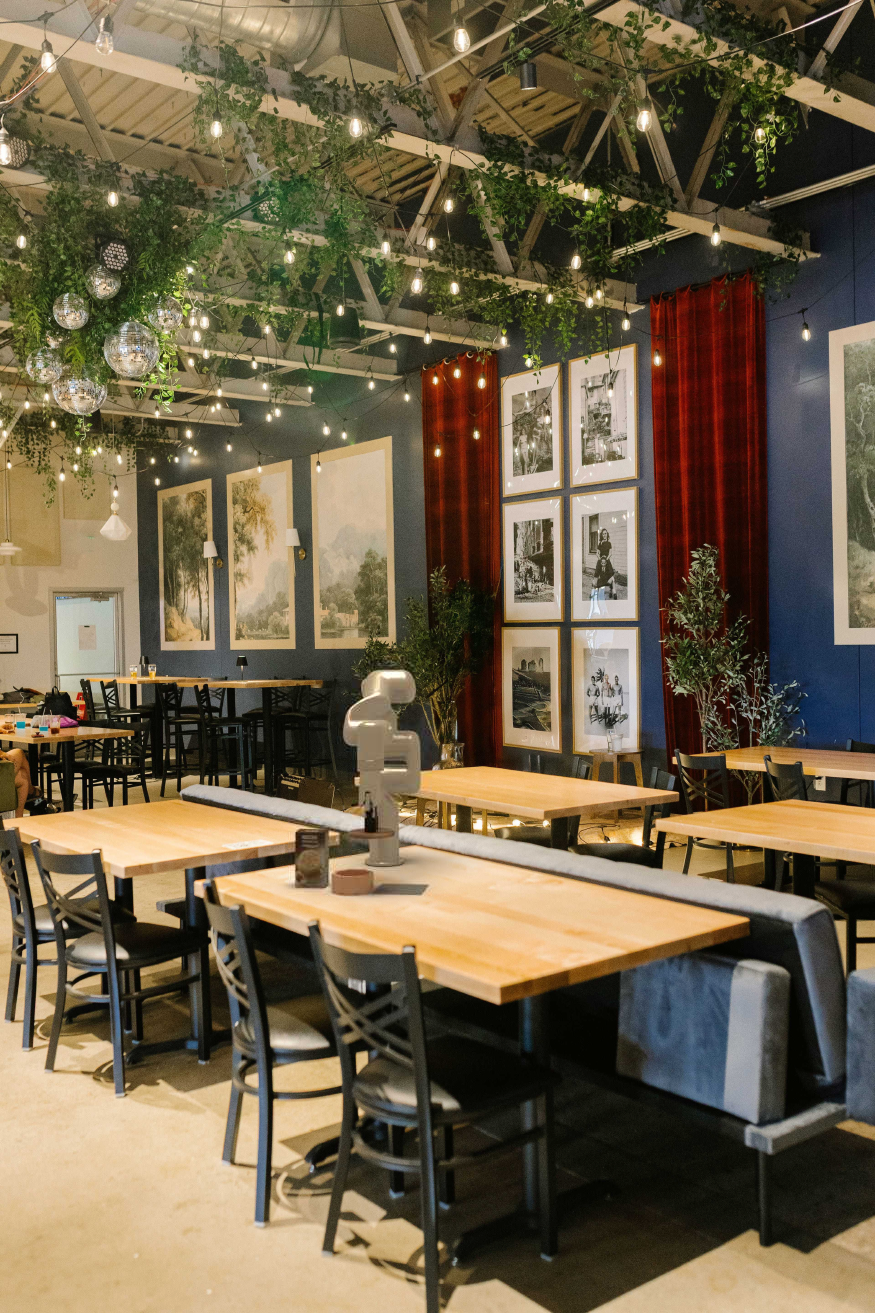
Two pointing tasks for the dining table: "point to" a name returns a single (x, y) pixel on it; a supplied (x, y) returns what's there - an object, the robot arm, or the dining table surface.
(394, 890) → the mat
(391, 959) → the dining table surface
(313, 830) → the coffee box
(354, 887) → the bowl
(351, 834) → the lid
